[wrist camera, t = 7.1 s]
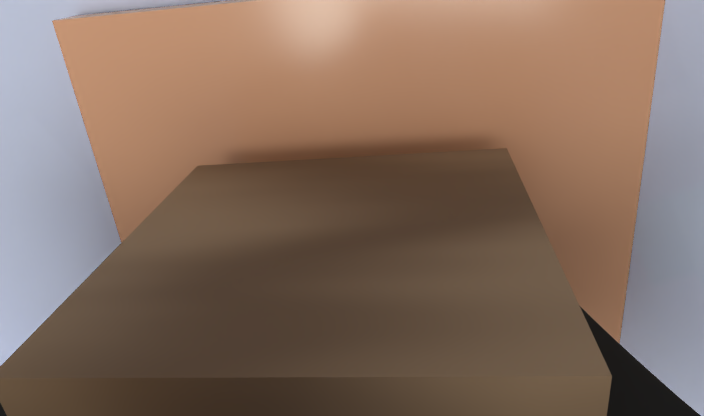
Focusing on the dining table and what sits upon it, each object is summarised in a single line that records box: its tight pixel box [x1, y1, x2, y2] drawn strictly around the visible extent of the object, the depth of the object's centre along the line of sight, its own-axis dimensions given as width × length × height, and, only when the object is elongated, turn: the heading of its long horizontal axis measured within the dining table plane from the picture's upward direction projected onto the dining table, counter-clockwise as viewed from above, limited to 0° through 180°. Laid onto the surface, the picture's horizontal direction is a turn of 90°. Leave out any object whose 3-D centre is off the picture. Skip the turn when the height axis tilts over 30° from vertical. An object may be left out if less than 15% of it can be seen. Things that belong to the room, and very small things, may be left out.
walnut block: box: [0, 148, 612, 416], centre depth 8 cm, size 5×5×5 cm
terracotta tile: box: [52, 0, 665, 343], centre depth 11 cm, size 10×10×1 cm
